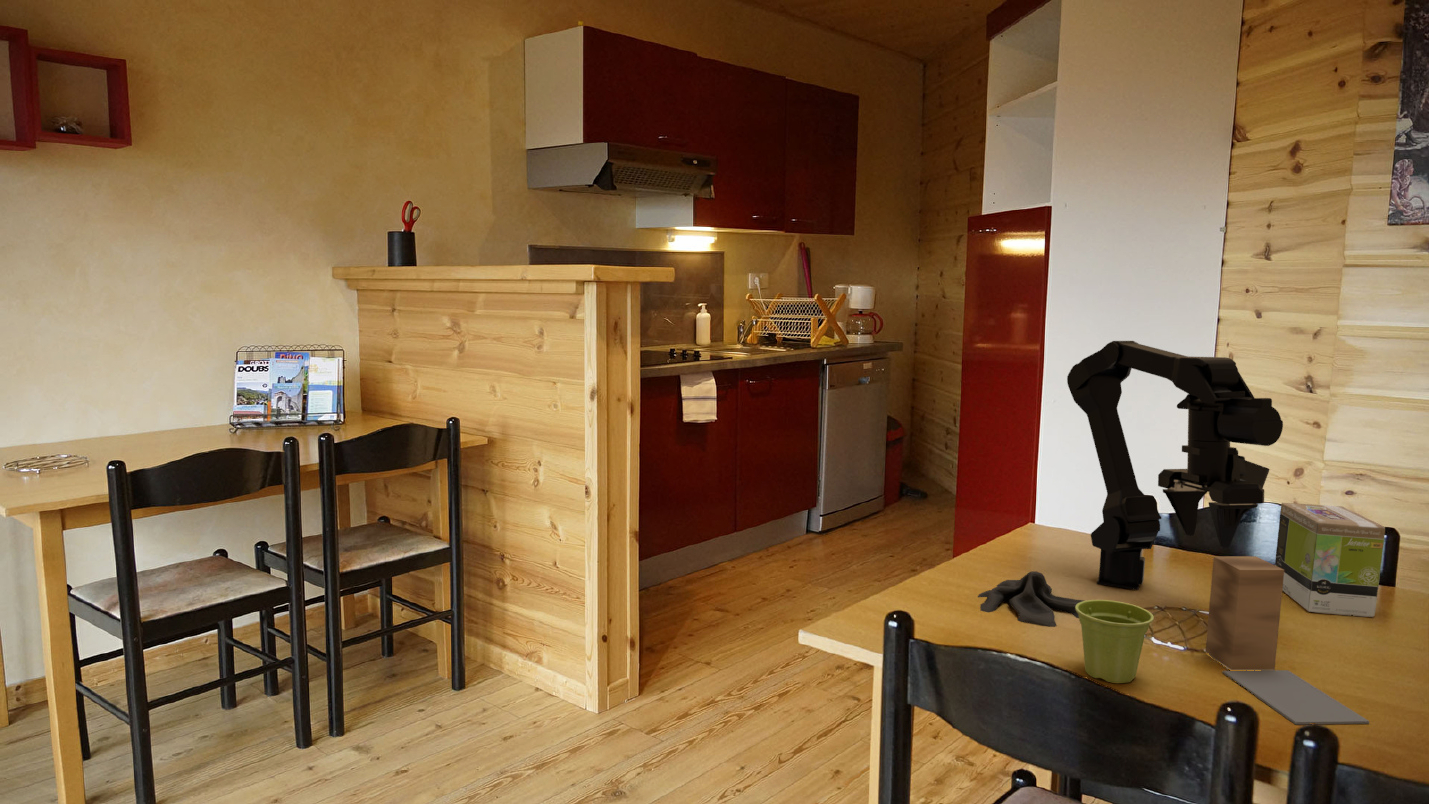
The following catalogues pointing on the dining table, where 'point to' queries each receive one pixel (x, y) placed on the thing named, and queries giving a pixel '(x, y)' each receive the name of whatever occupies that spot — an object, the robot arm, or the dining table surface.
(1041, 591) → the cloth
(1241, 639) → the walnut block
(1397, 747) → the dining table surface
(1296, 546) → the tea box
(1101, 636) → the plant pot
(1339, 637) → the dining table surface
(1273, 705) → the rubber mat
